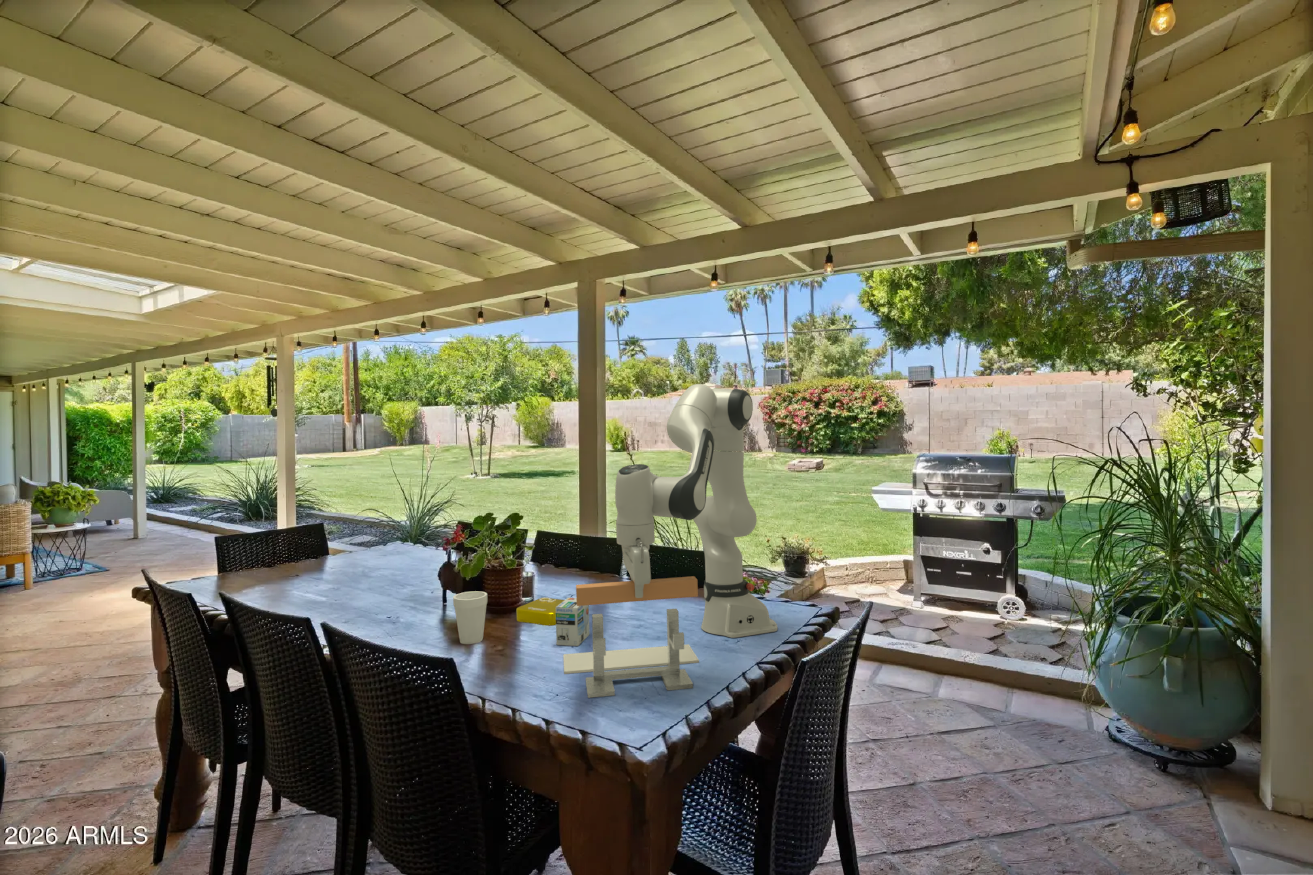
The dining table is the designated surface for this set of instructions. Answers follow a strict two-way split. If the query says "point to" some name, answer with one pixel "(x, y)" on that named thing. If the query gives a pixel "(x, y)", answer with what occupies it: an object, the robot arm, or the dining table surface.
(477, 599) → the foam cup
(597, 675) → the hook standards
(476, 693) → the dining table surface
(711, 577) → the robot arm
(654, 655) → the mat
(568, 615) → the light bulb box
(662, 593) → the rail
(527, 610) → the element tile
